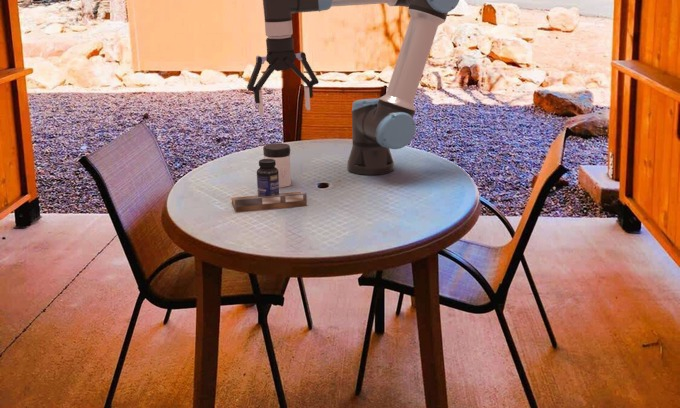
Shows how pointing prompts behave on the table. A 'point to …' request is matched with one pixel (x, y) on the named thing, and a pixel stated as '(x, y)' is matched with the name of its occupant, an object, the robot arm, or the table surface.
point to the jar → (280, 161)
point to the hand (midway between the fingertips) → (285, 112)
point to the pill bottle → (267, 178)
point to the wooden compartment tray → (269, 201)
